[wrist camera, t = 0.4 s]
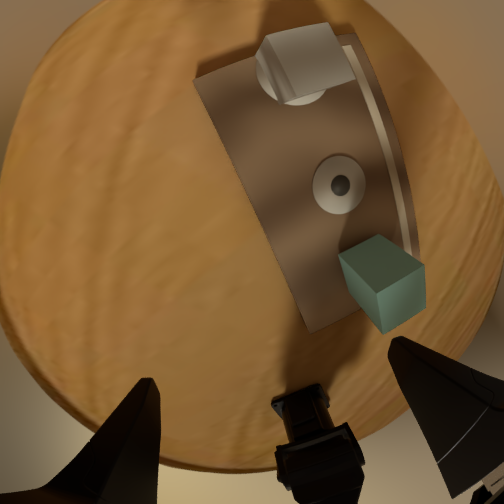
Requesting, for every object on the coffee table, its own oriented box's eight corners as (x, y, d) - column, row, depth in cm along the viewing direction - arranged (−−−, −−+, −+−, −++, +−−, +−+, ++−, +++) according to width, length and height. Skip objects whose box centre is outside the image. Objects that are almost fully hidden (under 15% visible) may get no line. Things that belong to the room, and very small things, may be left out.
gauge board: (414, 267, 25) (445, 292, 20) (306, 326, 25) (324, 363, 21) (345, 30, 15) (378, 9, 10) (190, 77, 16) (182, 55, 11)
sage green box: (388, 271, 22) (427, 306, 17) (348, 292, 22) (383, 335, 17) (380, 232, 21) (426, 263, 15) (338, 254, 21) (376, 293, 15)
